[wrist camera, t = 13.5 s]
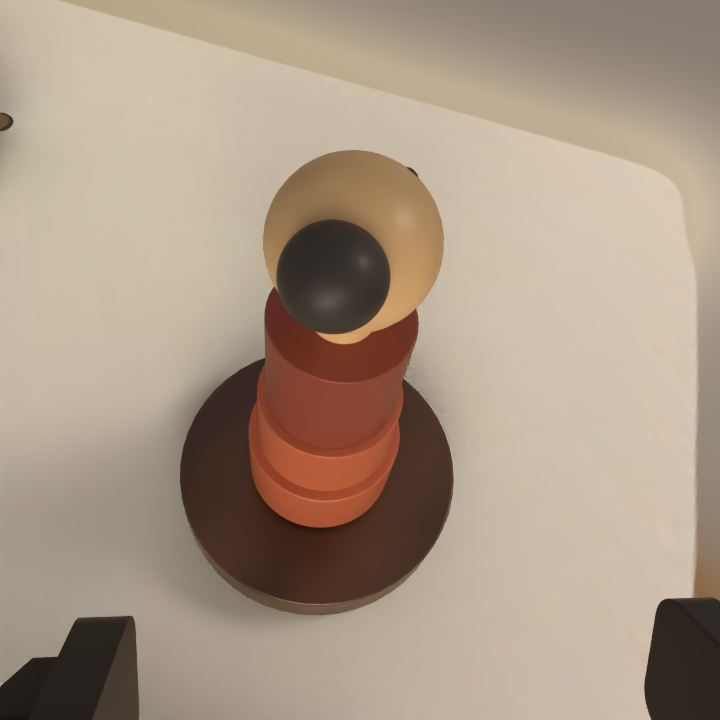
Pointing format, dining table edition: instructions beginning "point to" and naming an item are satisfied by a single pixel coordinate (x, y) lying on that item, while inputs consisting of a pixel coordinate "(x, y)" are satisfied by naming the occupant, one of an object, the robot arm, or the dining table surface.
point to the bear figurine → (5, 121)
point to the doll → (339, 332)
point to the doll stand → (302, 543)
